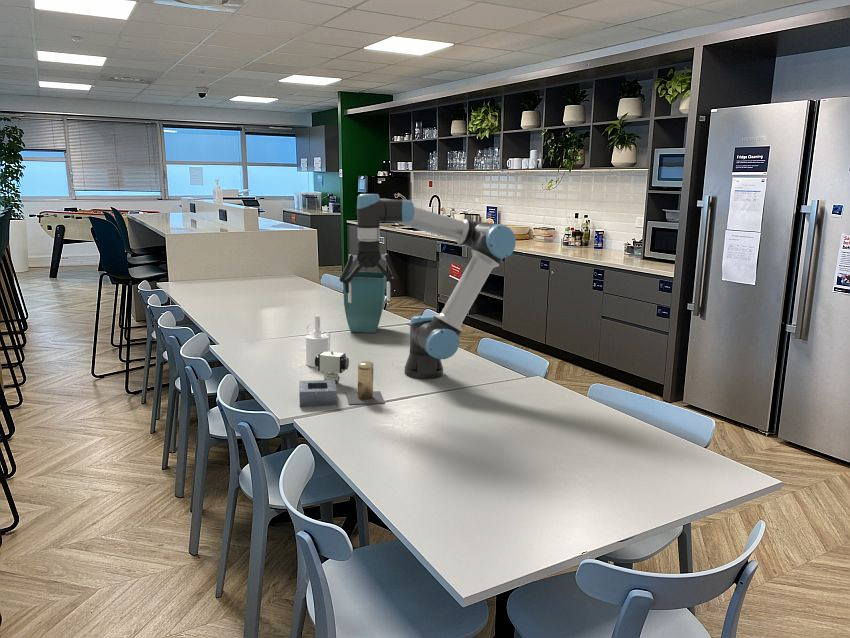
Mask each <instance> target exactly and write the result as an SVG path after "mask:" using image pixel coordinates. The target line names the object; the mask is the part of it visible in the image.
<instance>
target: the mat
mask: <svg viewBox="0 0 850 638" xmlns="http://www.w3.org/2000/svg"><path fill="white" fill-rule="evenodd" d="M345 395H346V399H347V402H348V403H347V404H348V405H349V406H357V405H359V406H361V405H382V404H383V405H384V404H386V402H385V399H384V397H383V394H382V393H381V391H380V390H379V391H377V390H375V391H374V390H373V398H372V399H369V400H362V399H359V398H358V391H346V392H345Z"/></svg>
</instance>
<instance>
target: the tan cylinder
mask: <svg viewBox="0 0 850 638" xmlns="http://www.w3.org/2000/svg"><path fill="white" fill-rule="evenodd" d="M373 391H374V362H372V361H366V360H365V361H359V362H358V363H357V392H358V398H359V399H362V400H369V399H372V398H373Z"/></svg>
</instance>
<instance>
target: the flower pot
mask: <svg viewBox="0 0 850 638" xmlns="http://www.w3.org/2000/svg"><path fill="white" fill-rule="evenodd" d="M352 271H353V270H349V271H348V273H347V275H346V277H345V279H346V278H347V277H348V276H349V274H350V273H351V272H352ZM349 283H351V303H349V302H348V293H346V292H345V283H343V282H342V288H343V290H342V291H343V306H344V312H345V317H346V321H347V324H348V325H347V326H348V329H349V331H350V333H369V334H370V333H371V334H375V333H376V332H377V330H378V328H379V324H380V321H381V318H382V313H383V309H384V305H385V298H386V297H385V295H386V289H387V278H386V277H385V276H384V274H383V273H382V272H381V271H360V270H359V271H358V272H357V274H356V275H355V276H354V277H353V279H352V280H351V281H350V282H349Z"/></svg>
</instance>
